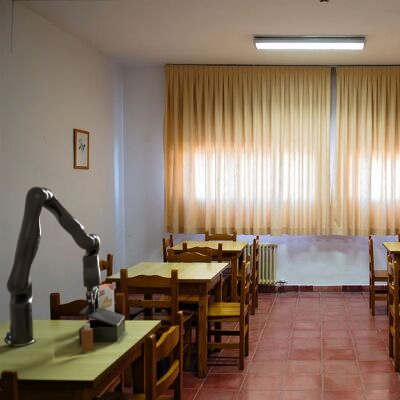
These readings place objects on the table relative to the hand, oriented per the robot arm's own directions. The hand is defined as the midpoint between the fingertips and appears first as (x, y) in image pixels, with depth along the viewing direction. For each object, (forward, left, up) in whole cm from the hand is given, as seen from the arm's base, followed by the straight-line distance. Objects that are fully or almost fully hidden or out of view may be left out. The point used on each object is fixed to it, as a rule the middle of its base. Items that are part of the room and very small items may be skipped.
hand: (94, 310), depth 239 cm
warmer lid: (+3, -1, -3) cm, 5 cm away
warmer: (+3, -1, -14) cm, 15 cm away
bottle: (-5, -16, -14) cm, 22 cm away
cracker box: (+5, +24, -15) cm, 28 cm away
